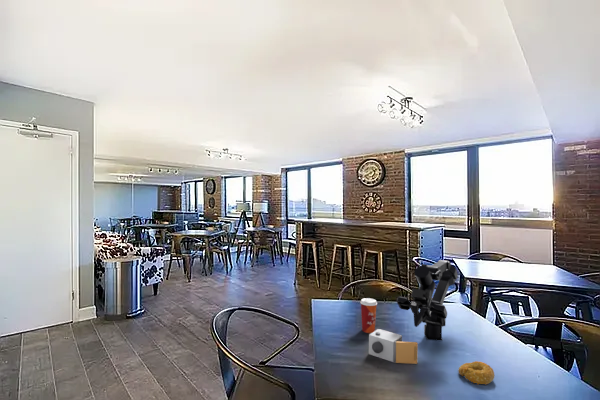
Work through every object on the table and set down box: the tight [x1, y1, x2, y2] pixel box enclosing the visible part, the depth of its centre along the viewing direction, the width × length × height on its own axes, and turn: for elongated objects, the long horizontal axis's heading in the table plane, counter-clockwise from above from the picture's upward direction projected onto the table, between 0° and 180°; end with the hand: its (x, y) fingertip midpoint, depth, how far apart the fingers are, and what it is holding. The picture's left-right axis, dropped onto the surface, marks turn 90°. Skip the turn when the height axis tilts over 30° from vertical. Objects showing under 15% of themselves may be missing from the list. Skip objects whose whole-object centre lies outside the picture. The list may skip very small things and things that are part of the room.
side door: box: [393, 341, 419, 365], centre depth 123 cm, size 8×1×8 cm, turn 86°
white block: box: [368, 328, 403, 363], centre depth 130 cm, size 9×10×8 cm
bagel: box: [457, 360, 496, 385], centre depth 114 cm, size 10×11×5 cm
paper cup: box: [359, 297, 378, 334], centre depth 154 cm, size 8×8×14 cm
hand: (415, 326), depth 130 cm, fingers closed
